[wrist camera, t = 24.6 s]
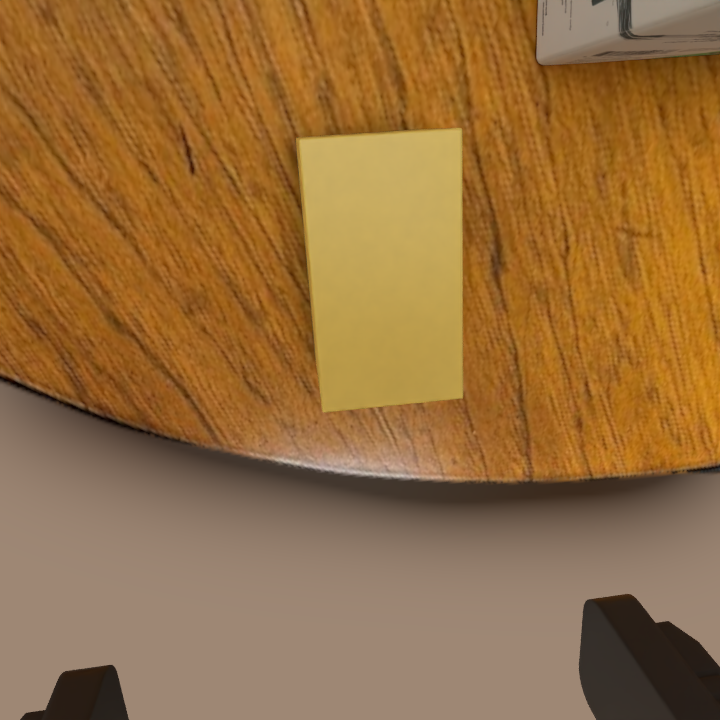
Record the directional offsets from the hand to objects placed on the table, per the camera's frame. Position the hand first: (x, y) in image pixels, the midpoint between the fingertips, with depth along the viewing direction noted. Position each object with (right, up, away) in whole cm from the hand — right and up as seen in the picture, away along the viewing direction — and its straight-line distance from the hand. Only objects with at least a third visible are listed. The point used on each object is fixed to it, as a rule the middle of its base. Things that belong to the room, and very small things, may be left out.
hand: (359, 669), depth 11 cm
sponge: (0, +10, +15) cm, 18 cm away
